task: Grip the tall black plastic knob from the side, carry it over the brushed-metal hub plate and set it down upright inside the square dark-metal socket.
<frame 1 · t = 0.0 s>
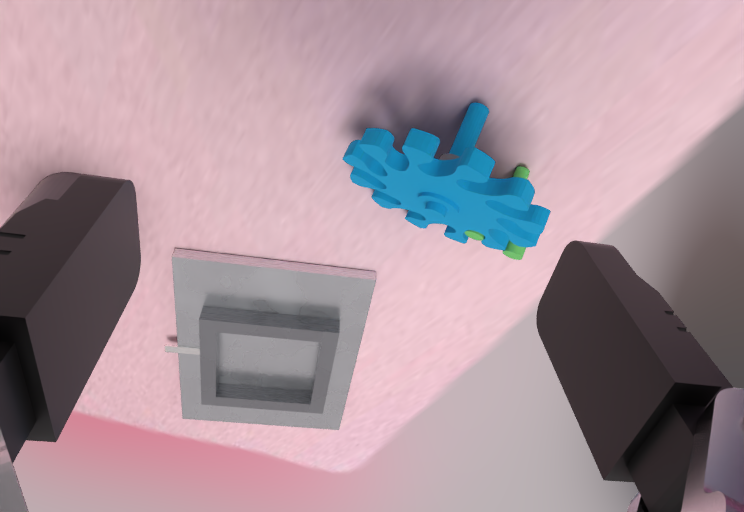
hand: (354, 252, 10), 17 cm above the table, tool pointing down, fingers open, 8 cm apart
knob: (80, 208, 29), on the table
hub: (269, 348, 37), on the table
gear: (439, 159, 28), on the table
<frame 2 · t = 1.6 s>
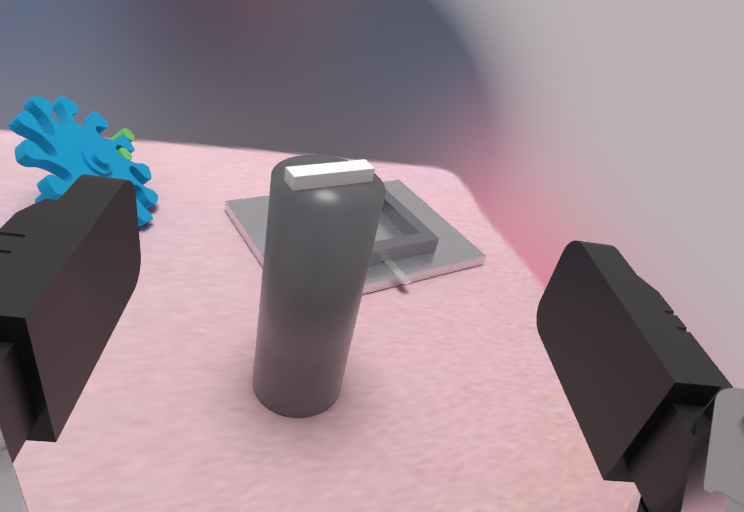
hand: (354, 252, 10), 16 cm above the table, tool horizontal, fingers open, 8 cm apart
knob: (297, 381, 28), on the table
hub: (355, 237, 40), on the table
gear: (100, 213, 37), on the table
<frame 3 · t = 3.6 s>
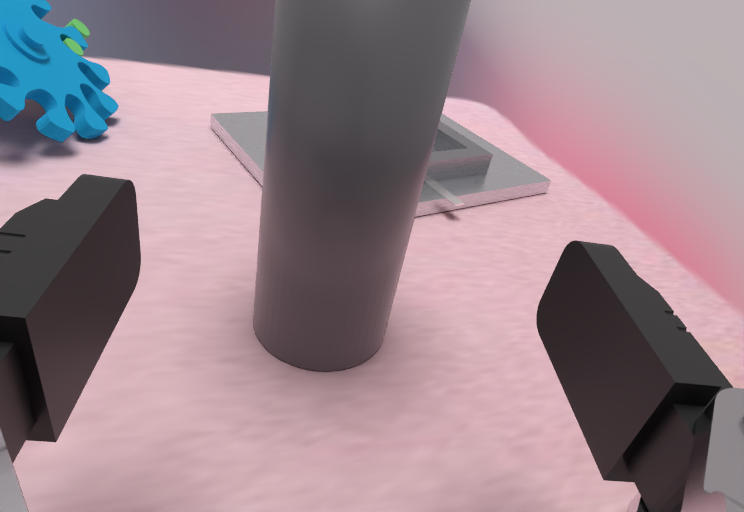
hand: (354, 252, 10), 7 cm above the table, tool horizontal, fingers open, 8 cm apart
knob: (319, 322, 19), on the table
hub: (380, 160, 31), on the table
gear: (39, 124, 28), on the table
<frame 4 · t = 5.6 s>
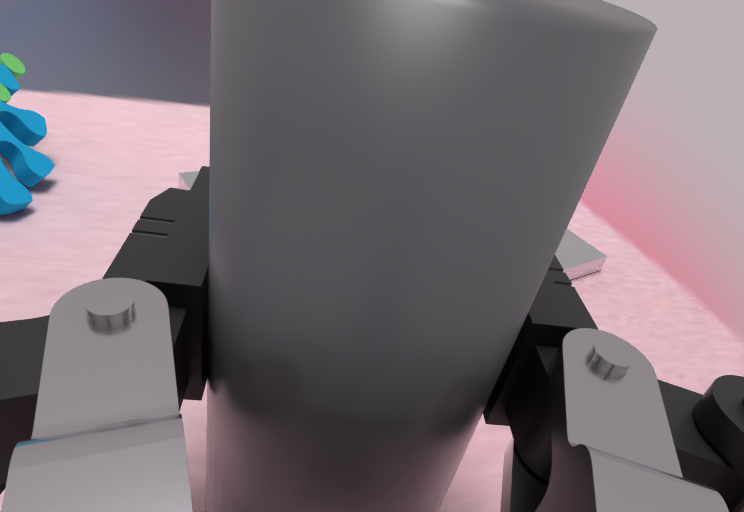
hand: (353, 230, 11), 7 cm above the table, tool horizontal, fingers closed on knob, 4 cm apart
hub: (393, 230, 25), on the table
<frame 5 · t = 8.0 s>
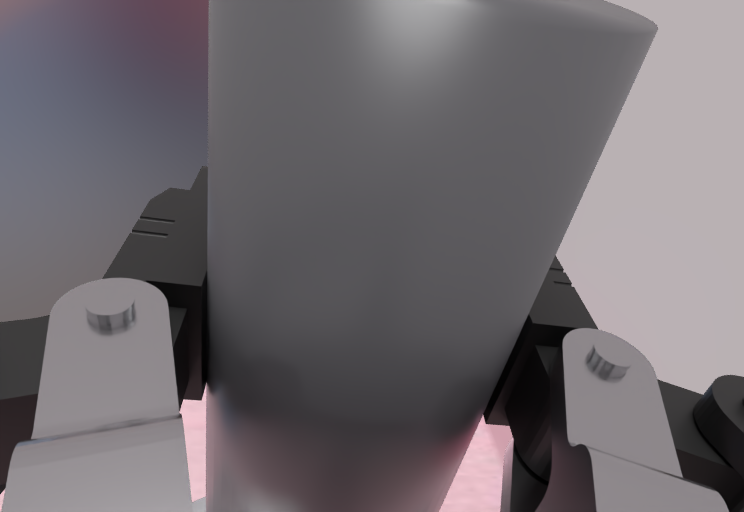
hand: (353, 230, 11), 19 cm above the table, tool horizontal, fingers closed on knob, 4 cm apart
when the fingers open (9 cm above the table, at t = 10.5 s): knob drops 1 cm, resting on hub.
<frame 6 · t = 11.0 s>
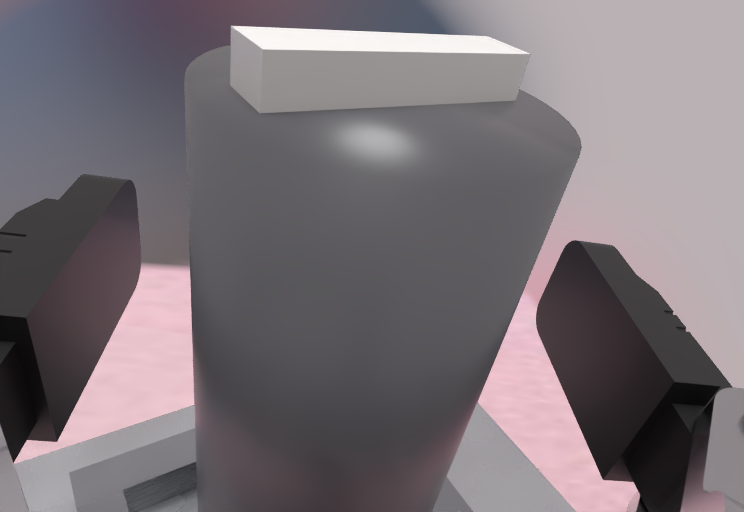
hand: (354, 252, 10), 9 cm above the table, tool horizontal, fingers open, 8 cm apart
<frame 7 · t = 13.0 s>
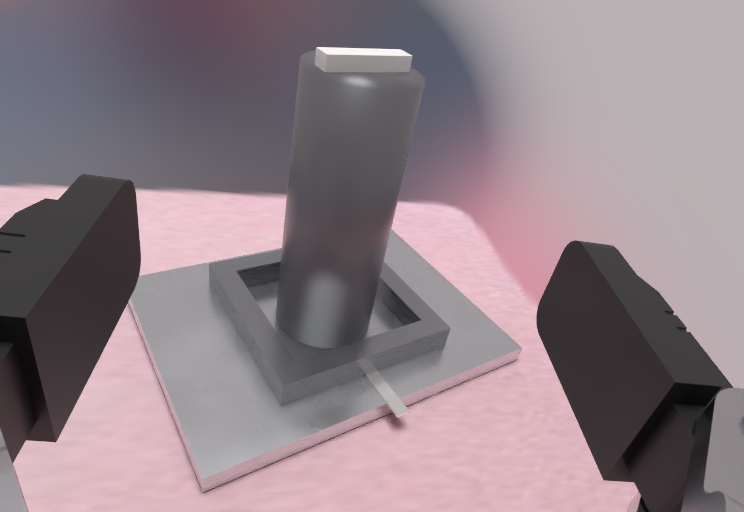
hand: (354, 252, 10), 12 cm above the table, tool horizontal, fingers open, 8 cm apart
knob: (323, 314, 26), point 1 cm above the table, touching hub
hub: (322, 326, 27), on the table
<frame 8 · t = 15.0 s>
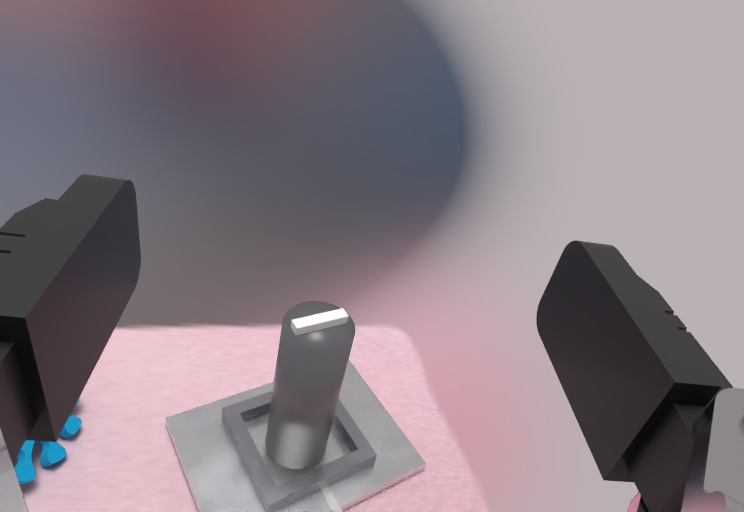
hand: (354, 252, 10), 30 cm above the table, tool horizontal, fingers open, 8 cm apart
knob: (296, 441, 40), point 1 cm above the table, touching hub
hub: (296, 447, 41), on the table
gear: (22, 439, 38), on the table
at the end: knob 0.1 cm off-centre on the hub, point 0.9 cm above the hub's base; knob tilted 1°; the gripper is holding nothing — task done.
